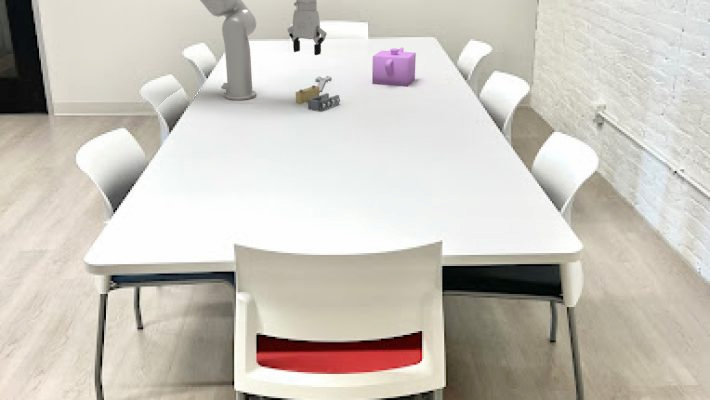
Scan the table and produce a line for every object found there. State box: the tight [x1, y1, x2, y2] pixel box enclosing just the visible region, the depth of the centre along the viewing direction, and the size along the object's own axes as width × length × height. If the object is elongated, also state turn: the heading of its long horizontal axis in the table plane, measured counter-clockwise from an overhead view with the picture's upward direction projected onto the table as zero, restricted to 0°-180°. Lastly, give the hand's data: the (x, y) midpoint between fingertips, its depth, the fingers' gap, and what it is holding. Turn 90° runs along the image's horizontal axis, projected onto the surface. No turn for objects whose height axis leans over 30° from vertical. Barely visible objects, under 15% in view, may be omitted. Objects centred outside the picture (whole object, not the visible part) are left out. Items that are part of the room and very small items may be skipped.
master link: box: [295, 85, 320, 105], centre depth 290 cm, size 2×12×5 cm, turn 147°
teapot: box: [371, 47, 417, 87], centre depth 318 cm, size 15×25×14 cm, turn 162°
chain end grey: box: [319, 92, 341, 108], centre depth 284 cm, size 7×5×4 cm
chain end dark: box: [307, 95, 331, 112], centre depth 280 cm, size 7×6×4 cm
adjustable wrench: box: [315, 75, 332, 94], centre depth 313 cm, size 25×6×2 cm, turn 171°
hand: (307, 53), depth 284 cm, fingers open, 9 cm apart
